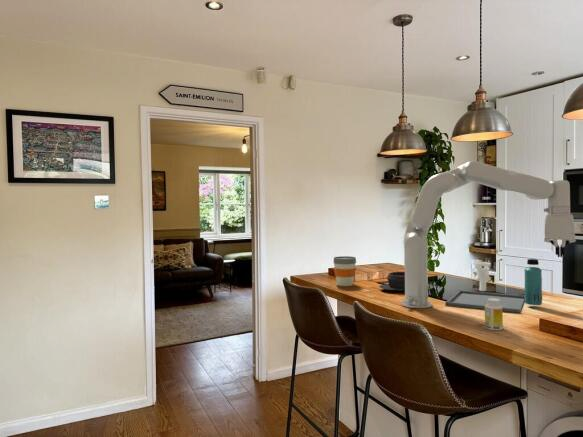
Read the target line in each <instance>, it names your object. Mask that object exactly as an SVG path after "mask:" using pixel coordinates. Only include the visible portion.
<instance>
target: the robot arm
mask: <svg viewBox="0 0 583 437" xmlns="http://www.w3.org/2000/svg"><path fill="white" fill-rule="evenodd" d="M472 182H473V183H476V184H480V185H483V186H486V187H490V188H493V189H496V190H499V191H509V192H515V193H519V194H524V195H525V196H526V197H527V198H528V199H531V200H537V201H538V200H545V199H547V207H546V208H543V213H547V214H546V215H545V219H544V239H543V241H544V242H545V243H550V244H551V245H553V246H554V247H555V248H554V249H555V255H556V256H557V257H558V258H563V256H565V248H566V246H567V245H568V244H571V243H575V242H577V240H576V237H575V236H576V229H575V220H574V215H573V214H572V213H571V189H570V188H571V185H570V182H569V181H568V180H565V179H564V180H563V179H561V180H551V181H548V180H546V179H544V178H540V177H537V176H533V175H529V174H525V173H522V172H521V173H520V172H517V171H513V170H509V169H504V168H502V167H497V166H494V165H490V164H487V163H484V162H481V161H477V160H469V161H467V162H465V163H463V164H461V165H459V166H456V167H455V168H452V169H451V170H448V171H444V172H443V171H442V172H440V173H437V174H435V175H432V176H431V177H429V178H428V180H426V181H425V183H424V184H423V185H422V187H421V189H420V191H419V194H418V198H417V201H416V202H415V207H414V210H413V211H412V212H411V214H410V215H409V219H408V221H407V225H406V230H405V233H404V237H403V249H404V250H403V251H404V261H403V262H404V272H405V292H404V300H402V301H401V305H402V306H403V307H405V308H410V309H427V308H431V307H432V306H433V305H432V304H433V303H432V302H431V301H429V285H428V283H429V281H428V279H429V276H428V271H429V270H428V252H429V248H428V247H429V245H428V240H427V238H428V234H429V230H430V228H431V227H432V226H433V223H434V219H435V214H436V211H437V207H438V204H439V201H440V199H441V197H442V196H443V195H444V194H447V193H450V192H452V191H454V190H456V189H458V188H460V187H463V186H465V185H467V184H469V183H472ZM558 240H559V241H560V240H561V244H560V245H559V244H558Z"/></svg>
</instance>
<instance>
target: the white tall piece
mask: <svg viewBox="0 0 583 437" xmlns="http://www.w3.org/2000/svg"><path fill="white" fill-rule="evenodd" d="M491 264H492V263H491V262H489V261H482V260H481V259H480V260H479V259H476V260H475V262H474V267H475V268H476V276H475V277H474V280H475V281H479V282H478V283H479V292H487V282H488V281H491V278H492V277H490V269H489V268H490V267H491Z"/></svg>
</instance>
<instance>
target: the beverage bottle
mask: <svg viewBox="0 0 583 437" xmlns="http://www.w3.org/2000/svg"><path fill="white" fill-rule="evenodd" d="M526 264H527V265H529V266H527V267H526V268H524V293H523V294H524V295H523V296H524V304H526V305H530V306H540V305H542V304H543V288H542V287H543V279H542V275H543V274H542V269H541V268H540V267H538V266H539V259H537V258H528V259H527V262H526ZM530 265H531V266H530ZM532 265H533V266H532Z"/></svg>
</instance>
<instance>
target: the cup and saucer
mask: <svg viewBox="0 0 583 437" xmlns="http://www.w3.org/2000/svg"><path fill="white" fill-rule="evenodd" d="M386 279H387V281H388V283H387V284H379V286H378V287H379V288H381V289H383V290H386V291H394V292H398V293H405V271H392V272H389V273H388V275H387V276H386Z"/></svg>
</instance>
